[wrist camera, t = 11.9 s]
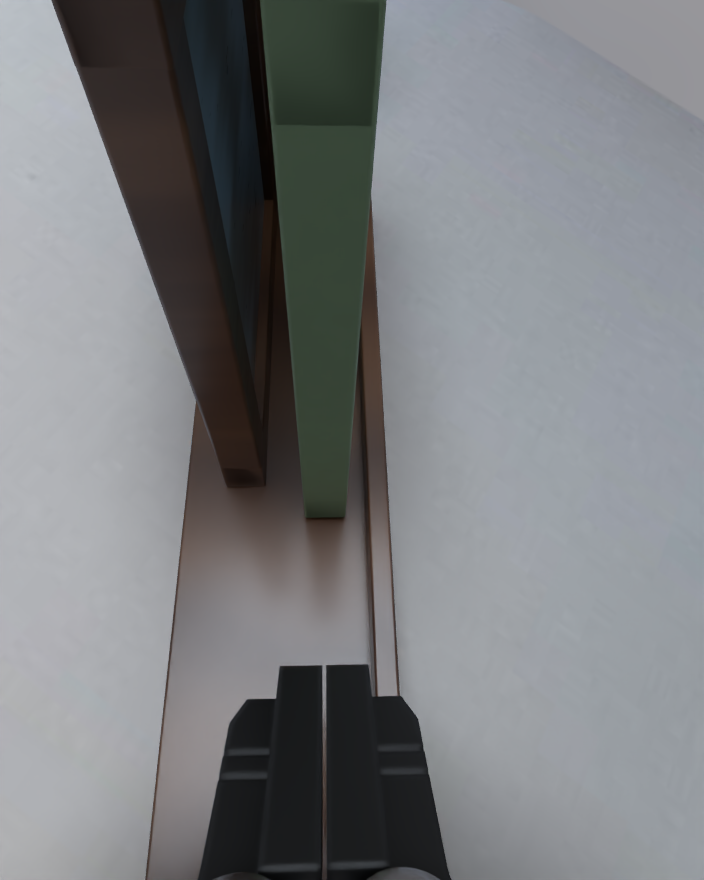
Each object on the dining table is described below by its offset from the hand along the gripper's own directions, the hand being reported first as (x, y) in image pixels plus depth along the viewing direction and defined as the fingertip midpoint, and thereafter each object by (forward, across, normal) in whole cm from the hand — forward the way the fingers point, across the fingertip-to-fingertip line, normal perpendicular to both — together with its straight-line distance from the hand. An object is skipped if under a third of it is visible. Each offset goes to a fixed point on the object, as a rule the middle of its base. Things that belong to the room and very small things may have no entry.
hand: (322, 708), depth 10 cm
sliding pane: (+12, 0, -4) cm, 13 cm away
